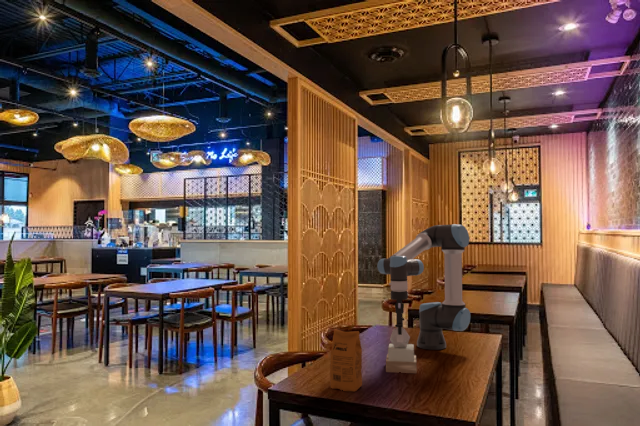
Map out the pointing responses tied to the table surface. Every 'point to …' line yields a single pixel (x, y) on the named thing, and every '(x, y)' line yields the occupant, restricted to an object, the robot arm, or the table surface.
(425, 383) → the table surface
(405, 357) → the top slab
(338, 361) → the coffee package
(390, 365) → the bottom slab
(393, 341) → the die
